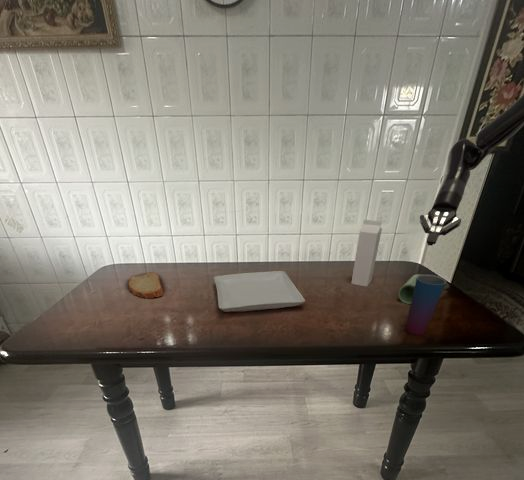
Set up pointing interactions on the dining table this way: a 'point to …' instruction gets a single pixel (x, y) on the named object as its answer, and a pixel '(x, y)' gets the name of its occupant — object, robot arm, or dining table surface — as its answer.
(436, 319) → the dining table surface
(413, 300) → the cup
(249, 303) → the square plate
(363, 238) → the milk
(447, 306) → the dining table surface
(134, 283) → the bread slice
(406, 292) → the green cup
